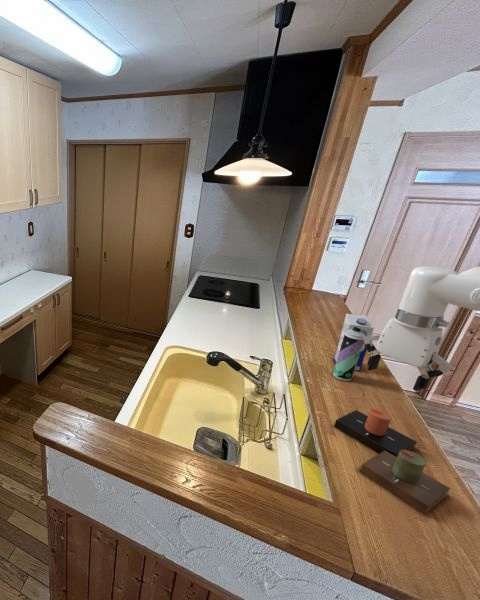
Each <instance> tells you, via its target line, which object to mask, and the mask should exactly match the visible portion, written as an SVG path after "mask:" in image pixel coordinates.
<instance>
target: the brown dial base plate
mask: <svg viewBox="0 0 480 600" xmlns="http://www.w3.org/2000/svg"><path fill="white" fill-rule="evenodd" d="M396 459H397V457H395V456H394V455H392V454H390V453H389V452H387V451H383V452H382V453H380V454H379V453H377V455H375V456H374V457H372V458H370V459H368V460H367V461H365V462H363V463H362V464H361V467H360V470H359V472H360V473H361V474H363V475H364V476H366V477H367V478H369V479H370V480H371V481H373V482H375V483H377V484H378V485H379V486H381V487H382V488H384V489H386V491H388V492H390V493H391V494H393V495H394V496H396V497H397V498H399V499H401V500H402V501H403V502H405V503H407V504H408V505H410V506H411V507H412V508H414V509H416V510H417V511H418V512H420V513H422V514H423V515H426V514H427V512H429V511H430V510H431V509H433V508H434V507H435V506H436V505H437V504H439V503H440V502H441V501H442V500H443V499H445V498H446V497H447V496H448V494H449V492H450V491H451V487H449V486H447V485H446V484H444V483H442V482H441V481H438V480H437V479H435V478H434V477H432V476H430V475H428V474H426V473H425V472H424V471H423V472H422V474H421V476H420V478H419V480H418V482H417V483H408V482H405V481H403V480H401V479H399V478H398V477H397V476H395V475H394V473H393V472H392V468H393V466H394V464H395V461H396Z"/></svg>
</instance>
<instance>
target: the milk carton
mask: <svg viewBox="0 0 480 600" xmlns="http://www.w3.org/2000/svg"><path fill="white" fill-rule="evenodd" d="M354 326H359V327H360V330H361V331H362V333H364V334H365V336H370V335H373V332H374V329H375V325H374V323H373V321H372V318H371V317H370V315H361V314H354V313H353V314H352V313H345V318H344V321H343V324H342V328H341V331H340V334H339V338H338V341H337V345H336V349H335V352H334V356H333V361H334V364H336V362H337V358H338V355H339V351H340V348H341V345H342V341H343V338H344V334H345V332H346V331H347V330H351V329H353V328H354ZM366 353H367V349H366V348H365V343H363V346H362V349H361V352H360V355H359V358H358V361H357V364H356V368H355V371H356V372H361V368H362V366H363V362H364V360H365V356H366Z"/></svg>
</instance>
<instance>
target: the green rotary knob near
mask: <svg viewBox="0 0 480 600" xmlns="http://www.w3.org/2000/svg"><path fill="white" fill-rule="evenodd" d="M426 466H427V461H426V459H425V458H424V457H423V456H421V455H420V454H418V453H416V452H415V451H412V450H411V451H408V450H400V452H399V454H398V456H397V459H396V461H395V464H394V466H393V468H392V472H393V473H394V475H395V476H397V477H398V478H399V479H401V480H403V481H405V482H408V483H417V482H418V480H419V478H420V476H421V474H422V472H423V473H424V469H425V468H426Z"/></svg>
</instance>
